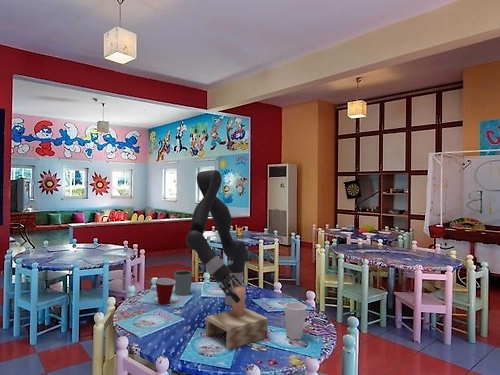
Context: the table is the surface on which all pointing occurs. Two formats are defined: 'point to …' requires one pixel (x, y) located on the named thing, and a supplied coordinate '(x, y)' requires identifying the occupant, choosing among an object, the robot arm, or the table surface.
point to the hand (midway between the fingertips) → (241, 298)
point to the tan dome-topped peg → (239, 307)
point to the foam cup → (295, 319)
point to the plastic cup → (164, 290)
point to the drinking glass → (182, 282)
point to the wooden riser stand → (237, 327)
